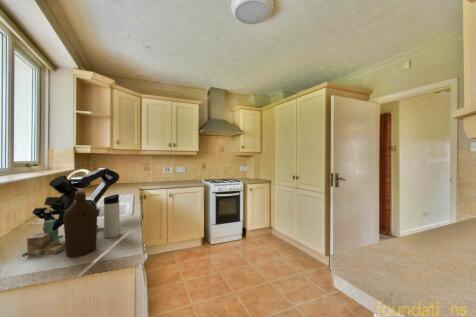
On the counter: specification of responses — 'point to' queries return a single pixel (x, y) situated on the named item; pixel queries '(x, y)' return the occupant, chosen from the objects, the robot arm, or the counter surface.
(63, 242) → the tan square block
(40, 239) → the cube
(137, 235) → the counter surface
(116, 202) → the travel mug
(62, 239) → the lane tray
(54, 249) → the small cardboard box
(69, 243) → the olive oil
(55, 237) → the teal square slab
